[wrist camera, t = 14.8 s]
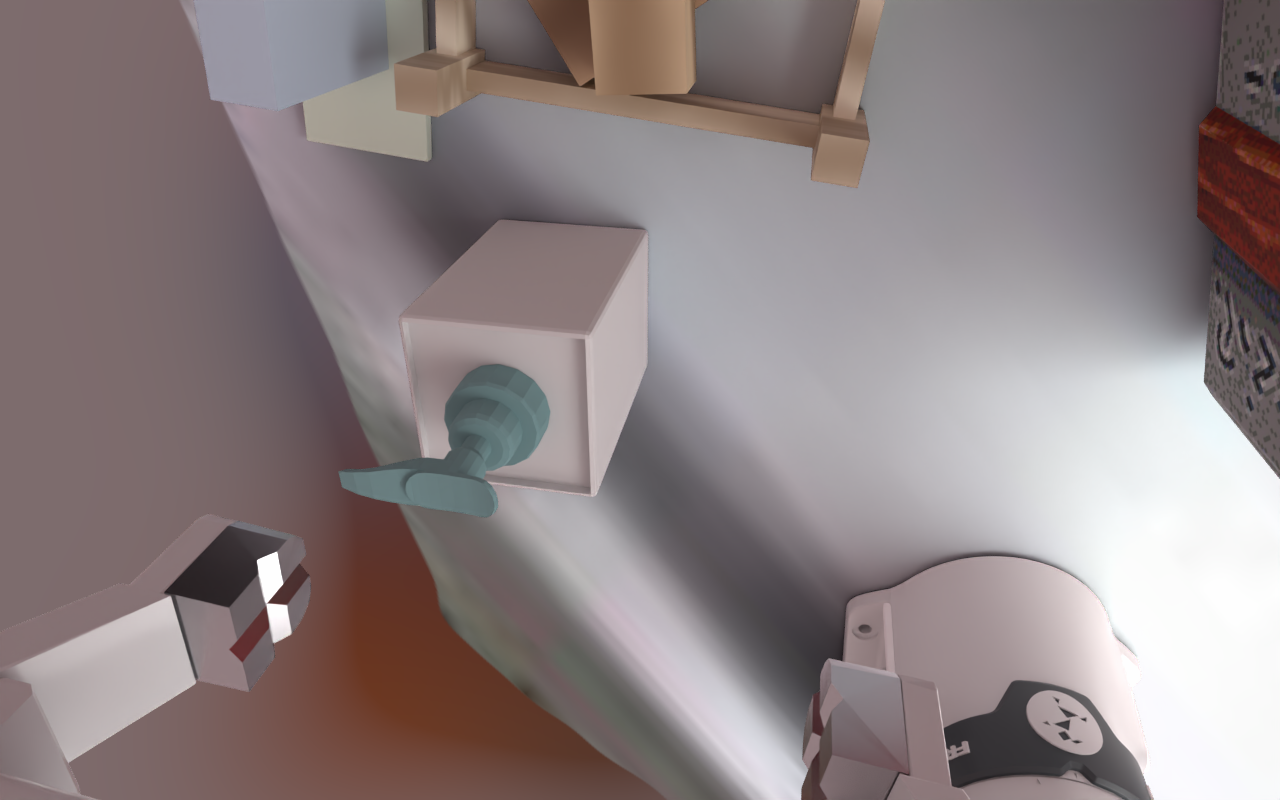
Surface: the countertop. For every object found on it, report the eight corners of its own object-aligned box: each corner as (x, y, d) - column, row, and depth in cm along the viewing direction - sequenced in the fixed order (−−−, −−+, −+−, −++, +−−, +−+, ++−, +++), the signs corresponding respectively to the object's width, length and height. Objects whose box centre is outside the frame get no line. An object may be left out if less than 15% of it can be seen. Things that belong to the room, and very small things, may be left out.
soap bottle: (495, 217, 45) (313, 388, 29) (649, 228, 44) (546, 414, 28) (508, 352, 50) (357, 565, 34) (648, 366, 48) (559, 595, 32)
